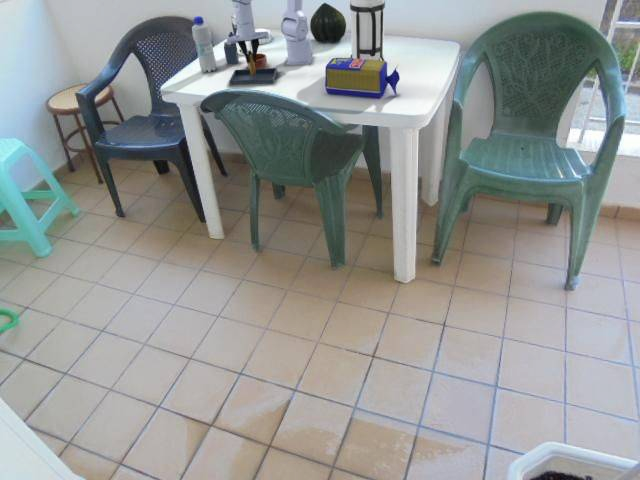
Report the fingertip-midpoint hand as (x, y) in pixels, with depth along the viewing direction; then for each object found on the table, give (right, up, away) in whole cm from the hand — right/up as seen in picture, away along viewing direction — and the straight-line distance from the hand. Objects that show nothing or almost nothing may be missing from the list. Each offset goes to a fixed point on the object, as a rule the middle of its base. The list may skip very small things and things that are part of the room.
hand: (251, 61), depth 175 cm
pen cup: (+1, +2, +13) cm, 13 cm away
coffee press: (+44, +3, +10) cm, 45 cm away
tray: (0, -5, +4) cm, 7 cm away
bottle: (-18, +1, +14) cm, 23 cm away
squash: (+28, +21, +32) cm, 48 cm away
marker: (0, -4, +3) cm, 5 cm away
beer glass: (-6, +13, +27) cm, 31 cm away
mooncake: (-2, +23, +38) cm, 44 cm away
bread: (+39, -14, -10) cm, 43 cm away
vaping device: (-10, +8, +16) cm, 21 cm away
